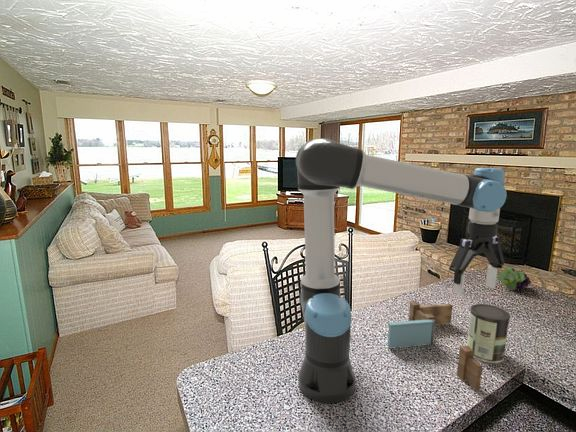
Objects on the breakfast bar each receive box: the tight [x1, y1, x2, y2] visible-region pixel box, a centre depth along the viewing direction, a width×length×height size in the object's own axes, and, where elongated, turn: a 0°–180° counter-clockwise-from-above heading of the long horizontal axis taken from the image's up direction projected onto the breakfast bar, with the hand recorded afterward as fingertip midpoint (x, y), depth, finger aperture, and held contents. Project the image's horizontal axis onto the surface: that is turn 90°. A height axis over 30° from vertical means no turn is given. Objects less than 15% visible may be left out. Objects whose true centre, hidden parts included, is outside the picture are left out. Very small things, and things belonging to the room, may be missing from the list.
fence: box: [408, 301, 483, 391], centre depth 104 cm, size 15×34×9 cm, turn 8°
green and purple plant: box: [497, 266, 532, 292], centre depth 151 cm, size 10×11×15 cm
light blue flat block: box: [387, 319, 436, 349], centre depth 107 cm, size 15×2×8 cm, turn 98°
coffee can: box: [466, 303, 511, 364], centre depth 103 cm, size 10×10×14 cm
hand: (474, 290), depth 102 cm, fingers open, 13 cm apart
